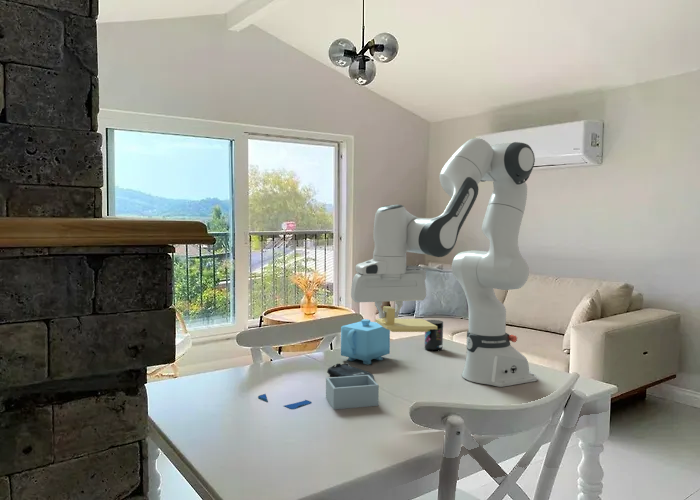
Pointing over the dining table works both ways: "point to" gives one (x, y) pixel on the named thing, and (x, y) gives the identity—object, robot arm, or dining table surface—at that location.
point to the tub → (352, 392)
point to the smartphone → (290, 406)
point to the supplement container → (434, 336)
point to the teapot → (364, 341)
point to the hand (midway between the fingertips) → (388, 317)
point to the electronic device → (346, 371)
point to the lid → (403, 323)
